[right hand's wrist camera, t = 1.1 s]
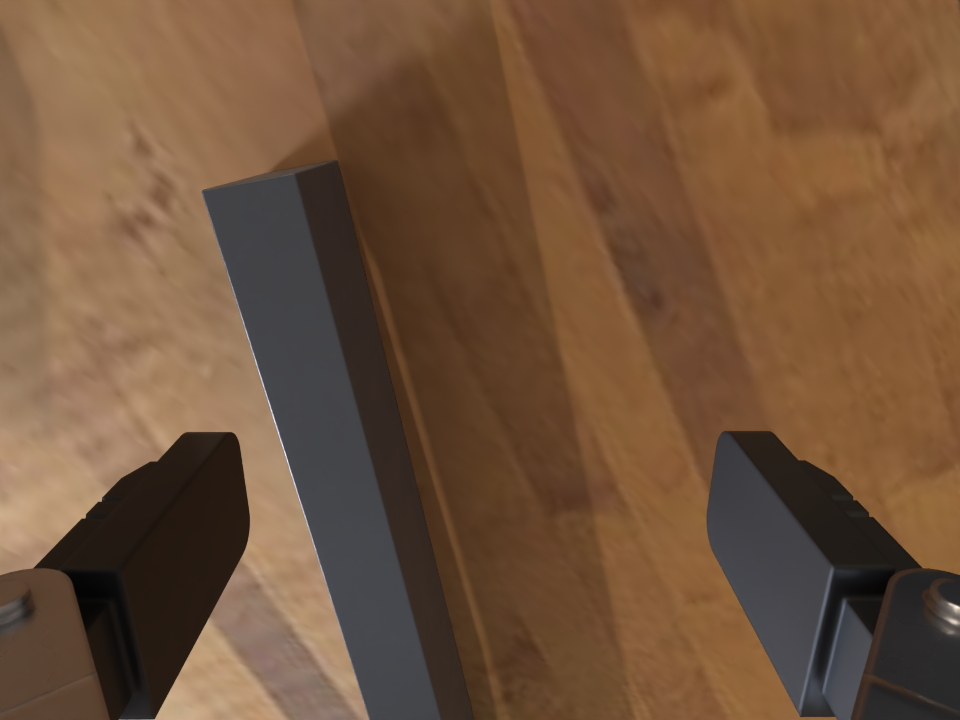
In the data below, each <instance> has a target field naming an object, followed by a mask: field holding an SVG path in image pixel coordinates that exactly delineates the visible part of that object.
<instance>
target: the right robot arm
mask: <svg viewBox="0 0 960 720" xmlns="http://www.w3.org/2000/svg"><path fill="white" fill-rule="evenodd" d="M249 528H250V514H249V506H248V499H247V493H246V486H245V479H244V472H243V465H242V458H241V451H240V445H239V441H238V439H237V437H236V435H235V434H234V433H232V432H186V433H184V434H183V435H181V436H180V438H179V439H178V440H177V441H176V442H175V443H174V444H173V445H172V446H171V447H170V448H169V449H168V451H167V452H166V453H165V454H164V455H163V456H162V457H161V458H160V459H159V460H158V461H157V462H149V463H147V464H145V465H144V466H142V467H140V468H138V469H137V470H135V471H133V472H131V473H130V474H128V475H126V476H124V477H123V478H121V479H120V480H119V481H118V482H117V483H116V484H115V485H114V486H113V487H112V488H111V489H110V490H109V491H108V492H107V493H106V494H105V495H104V497H103V498H102V502H98V503H97V504H96V505H95V506H94V507H93V508H92V509H91V510H90V511H89V512H88V513H87V514H86V518H85V519H81V520H80V521H79V522H78V523H77V524H76V525H75V526H74V527H73V528H72V529H71V530H70V531H69V532H68V533H67V534H66V535H65V536H64V537H63V538H62V539H61V540H60V542H59V543H58V544H57V545H56V546H55V547H54V548H53V549H52V550H51V551H50V552H49V553H48V554H47V555H46V556H45V557H44V558H43V559H42V560H41V561H40V562H39V563H38V564H37V565H36V566H35V567H34V568H33V569H25V570H19V571H15V572H10V573H7V574H3V575H0V720H119V719H155V717H156V716H157V714H158V712H159V710H160V708H161V706H162V704H163V702H164V701H165V699H166V697H167V695H168V693H169V691H170V689H171V688H172V686H173V684H174V682H175V680H176V678H177V676H178V674H179V673H180V671H181V669H182V667H183V665H184V663H185V661H186V659H187V658H188V656H189V654H190V652H191V650H192V648H193V646H194V645H195V643H196V641H197V639H198V637H199V635H200V633H201V631H202V630H203V628H204V626H205V624H206V622H207V620H208V618H209V617H210V615H211V613H212V611H213V609H214V607H215V605H216V603H217V602H218V600H219V598H220V596H221V594H222V592H223V590H224V589H225V587H226V585H227V583H228V581H229V579H230V577H231V575H232V574H233V572H234V570H235V568H236V566H237V564H238V562H239V561H240V559H241V557H242V555H243V553H244V551H245V548H246V545H247V541H248V537H249ZM707 532H708V538H709V542H710V546H711V548H712V551H713V553H714V555H715V557H716V559H717V560H718V562H719V564H720V566H721V568H722V570H723V572H724V574H725V576H726V577H727V579H728V581H729V583H730V585H731V587H732V589H733V591H734V593H735V594H736V596H737V598H738V600H739V602H740V604H741V606H742V608H743V610H744V611H745V613H746V615H747V617H748V619H749V621H750V623H751V625H752V627H753V628H754V630H755V632H756V634H757V636H758V638H759V640H760V642H761V644H762V645H763V647H764V649H765V651H766V653H767V655H768V657H769V659H770V661H771V662H772V664H773V666H774V668H775V670H776V672H777V674H778V676H779V678H780V679H781V681H782V683H783V685H784V687H785V689H786V691H787V693H788V695H789V696H790V698H791V700H792V702H793V704H794V706H795V708H796V710H797V712H798V713H799V715H800V717H836V718H837V720H960V575H957V574H953V573H950V572H945V571H941V570H935V569H926V568H922V567H921V566H920V565H919V564H918V563H917V562H916V561H915V560H914V559H913V558H912V557H911V556H910V555H909V554H908V553H907V552H906V551H905V550H904V549H903V547H902V546H901V545H900V544H899V543H898V542H897V541H896V540H895V539H894V538H893V537H892V536H891V535H890V534H889V533H888V532H887V531H886V530H885V529H884V528H883V527H882V526H881V525H880V524H879V523H878V522H877V521H876V520H875V519H874V518H873V517H869V512H868V511H867V510H866V509H865V508H864V507H863V506H862V505H861V504H860V503H859V502H858V501H857V500H853V496H852V495H851V494H850V493H849V492H848V491H847V490H846V489H845V488H844V487H843V486H842V485H841V484H840V482H839V481H838V480H837V479H836V478H835V477H833V476H832V475H830V474H828V473H826V472H825V471H823V470H821V469H819V468H818V467H816V466H814V465H812V464H811V463H809V462H807V461H805V460H797V458H796V457H795V456H794V455H793V454H792V453H791V452H790V451H789V450H788V449H787V448H786V446H785V445H784V444H783V443H782V442H781V441H780V440H779V439H778V438H777V437H776V435H775V434H773V433H772V432H770V431H724V432H722V433H721V435H720V436H719V438H718V441H717V446H716V452H715V459H714V466H713V473H712V481H711V488H710V495H709V502H708V509H707Z"/></svg>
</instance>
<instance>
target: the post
mask: <svg viewBox="0 0 960 720" xmlns="http://www.w3.org/2000/svg"><path fill="white" fill-rule="evenodd" d="M202 195H203V198H204V201H205V204H206V207H207V210H208V214H209V217H210V220H211V223H212V226H213V229H214V232H215V236H216V239H217V242H218V245H219V248H220V251H221V254H222V258H223V261H224V264H225V267H226V270H227V273H228V276H229V280H230V283H231V286H232V289H233V292H234V295H235V298H236V302H237V305H238V308H239V311H240V314H241V317H242V320H243V324H244V327H245V330H246V333H247V336H248V339H249V342H250V346H251V349H252V352H253V355H254V358H255V361H256V364H257V368H258V371H259V374H260V377H261V380H262V383H263V386H264V390H265V393H266V396H267V399H268V402H269V405H270V408H271V412H272V415H273V418H274V421H275V424H276V427H277V430H278V434H279V437H280V440H281V443H282V446H283V449H284V453H285V456H286V459H287V462H288V465H289V468H290V471H291V475H292V478H293V481H294V484H295V487H296V490H297V493H298V497H299V500H300V503H301V506H302V509H303V512H304V515H305V519H306V522H307V525H308V528H309V531H310V534H311V537H312V541H313V544H314V547H315V550H316V553H317V556H318V559H319V563H320V566H321V569H322V572H323V575H324V578H325V581H326V585H327V588H328V591H329V594H330V597H331V600H332V603H333V607H334V610H335V613H336V616H337V619H338V622H339V625H340V629H341V632H342V635H343V638H344V641H345V644H346V647H347V651H348V654H349V657H350V660H351V663H352V666H353V669H354V673H355V676H356V679H357V682H358V685H359V688H360V691H361V695H362V698H363V701H364V704H365V707H366V710H367V713H368V717H369V720H474V717H473V713H472V709H471V705H470V700H469V696H468V692H467V688H466V684H465V680H464V676H463V672H462V668H461V664H460V660H459V656H458V651H457V647H456V643H455V639H454V635H453V631H452V627H451V623H450V619H449V615H448V611H447V606H446V602H445V598H444V594H443V590H442V586H441V582H440V578H439V574H438V570H437V566H436V561H435V557H434V553H433V549H432V545H431V541H430V537H429V533H428V529H427V525H426V521H425V517H424V512H423V508H422V504H421V500H420V496H419V492H418V488H417V484H416V480H415V476H414V472H413V467H412V463H411V459H410V455H409V451H408V447H407V443H406V439H405V435H404V431H403V427H402V422H401V418H400V414H399V410H398V406H397V402H396V398H395V394H394V390H393V386H392V382H391V378H390V373H389V369H388V365H387V361H386V357H385V353H384V349H383V345H382V341H381V337H380V333H379V328H378V324H377V320H376V316H375V312H374V308H373V304H372V300H371V296H370V292H369V288H368V283H367V279H366V275H365V271H364V267H363V263H362V259H361V255H360V251H359V247H358V243H357V239H356V234H355V230H354V226H353V222H352V218H351V214H350V210H349V206H348V202H347V198H346V194H345V189H344V185H343V181H342V177H341V173H340V169H339V165H338V161H337V160H333V161H328V162H323V163H317V164H312V165H307V166H302V167H296V168H291V169H286V170H281V171H275V172H270V173H265V174H261V175H257V176H254V177H250V178H246V179H242V180H239V181H235V182H231V183H227V184H224V185H220V186H216V187H213V188H209V189H205V190H203V191H202Z"/></svg>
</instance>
